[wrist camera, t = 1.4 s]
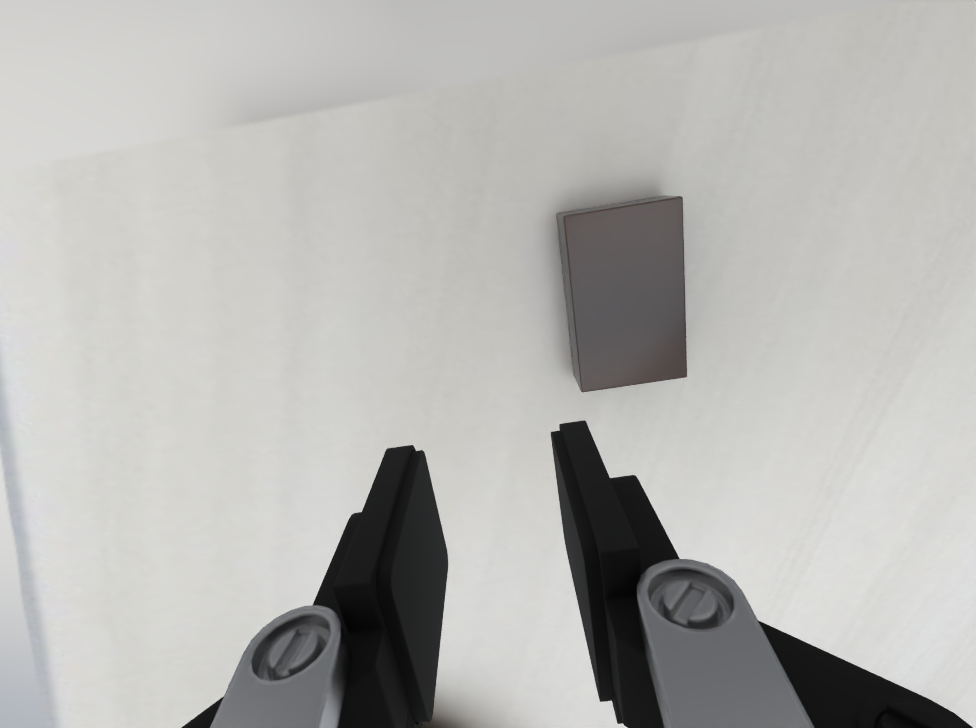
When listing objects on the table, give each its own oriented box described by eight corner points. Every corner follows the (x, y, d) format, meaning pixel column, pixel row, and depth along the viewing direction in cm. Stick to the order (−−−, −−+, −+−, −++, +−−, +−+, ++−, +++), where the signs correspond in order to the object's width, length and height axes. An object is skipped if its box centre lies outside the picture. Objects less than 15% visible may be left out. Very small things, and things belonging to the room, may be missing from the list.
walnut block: (556, 213, 25) (563, 216, 23) (664, 195, 25) (683, 195, 22) (573, 376, 28) (581, 393, 26) (670, 361, 28) (687, 377, 25)
